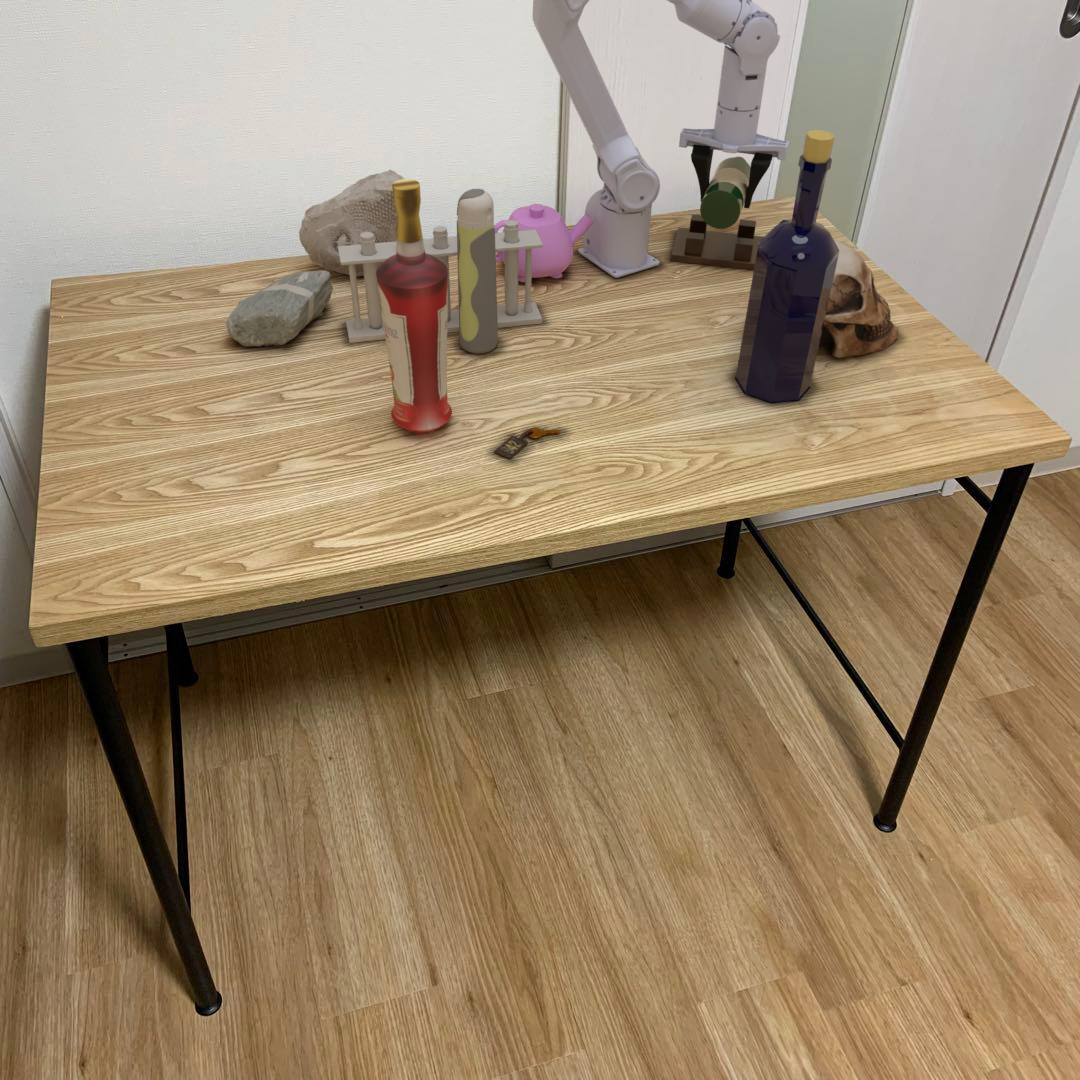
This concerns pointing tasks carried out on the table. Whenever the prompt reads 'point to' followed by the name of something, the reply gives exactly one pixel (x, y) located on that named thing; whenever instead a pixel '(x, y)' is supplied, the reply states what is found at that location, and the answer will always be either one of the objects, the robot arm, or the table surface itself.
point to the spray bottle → (477, 272)
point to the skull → (855, 309)
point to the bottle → (790, 290)
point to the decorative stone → (280, 309)
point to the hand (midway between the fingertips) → (725, 202)
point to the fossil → (350, 221)
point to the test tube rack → (441, 250)
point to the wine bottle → (726, 193)
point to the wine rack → (716, 245)
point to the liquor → (415, 320)
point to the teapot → (546, 240)
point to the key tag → (520, 442)
